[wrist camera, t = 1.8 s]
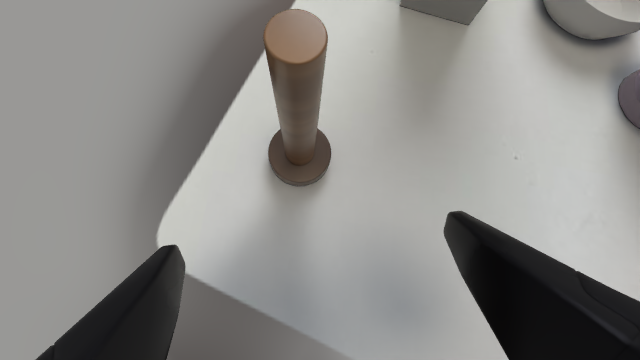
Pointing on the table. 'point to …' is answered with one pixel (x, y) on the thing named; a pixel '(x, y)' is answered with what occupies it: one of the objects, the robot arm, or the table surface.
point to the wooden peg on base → (297, 95)
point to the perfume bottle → (447, 8)
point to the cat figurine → (631, 97)
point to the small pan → (595, 17)
